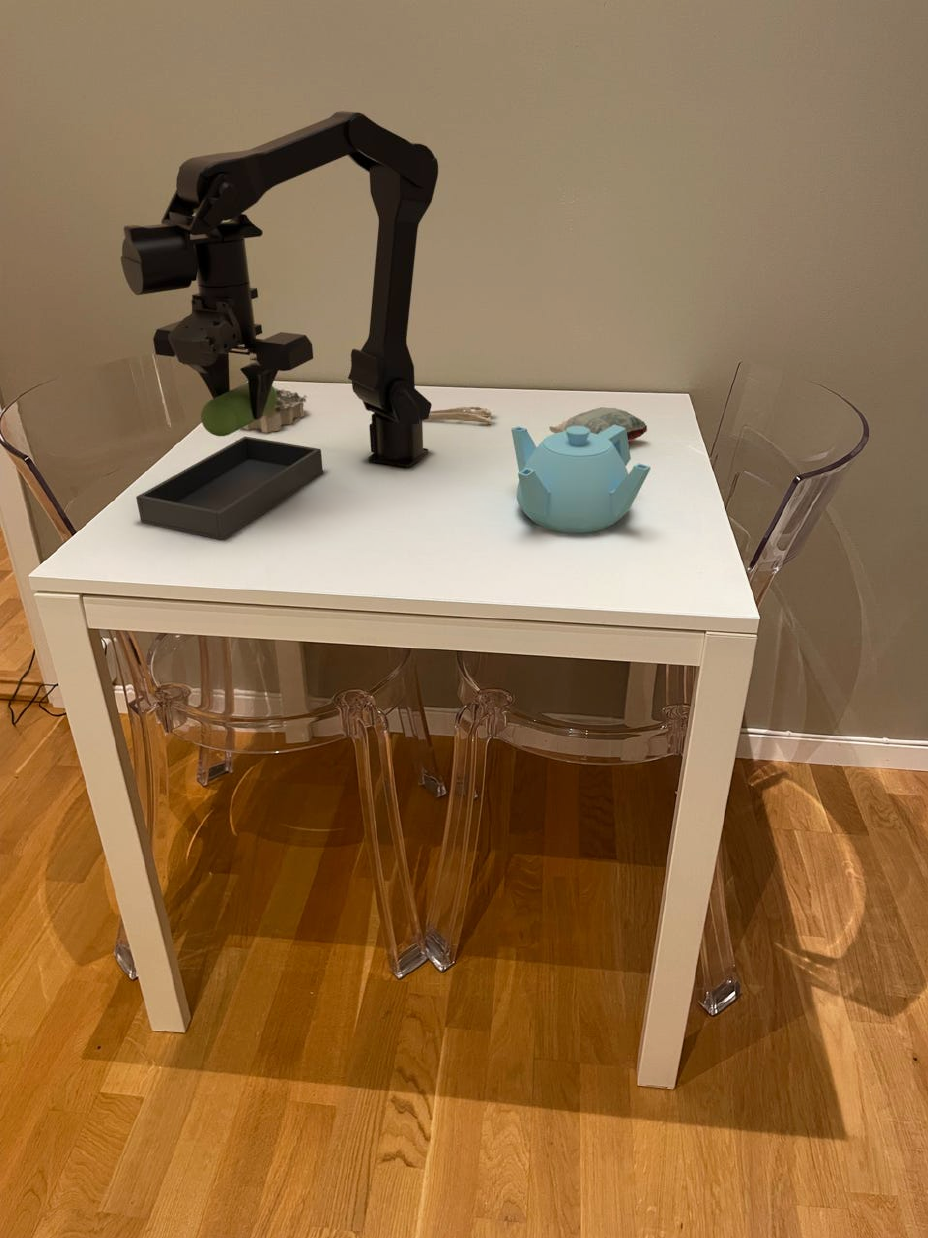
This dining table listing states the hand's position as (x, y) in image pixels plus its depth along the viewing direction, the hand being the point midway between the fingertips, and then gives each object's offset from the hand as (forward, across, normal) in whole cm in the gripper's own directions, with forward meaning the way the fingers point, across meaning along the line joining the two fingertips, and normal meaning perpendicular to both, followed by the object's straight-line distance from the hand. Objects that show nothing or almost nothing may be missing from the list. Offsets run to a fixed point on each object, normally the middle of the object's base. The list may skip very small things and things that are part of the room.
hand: (241, 416), depth 114 cm
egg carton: (+11, -14, +26) cm, 32 cm away
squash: (+1, 0, 0) cm, 1 cm away
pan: (+11, -2, 0) cm, 11 cm away
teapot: (+11, +39, +12) cm, 42 cm away
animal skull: (+11, +9, +36) cm, 39 cm away
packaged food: (+11, +35, +36) cm, 51 cm away
